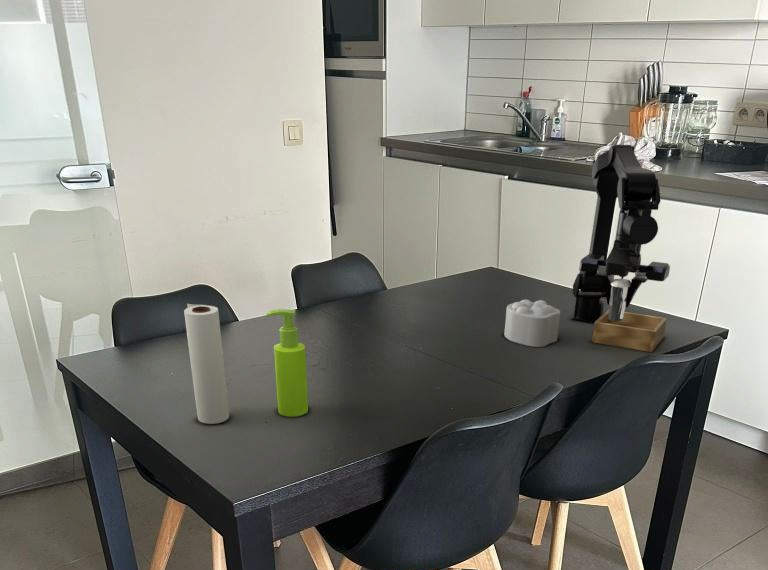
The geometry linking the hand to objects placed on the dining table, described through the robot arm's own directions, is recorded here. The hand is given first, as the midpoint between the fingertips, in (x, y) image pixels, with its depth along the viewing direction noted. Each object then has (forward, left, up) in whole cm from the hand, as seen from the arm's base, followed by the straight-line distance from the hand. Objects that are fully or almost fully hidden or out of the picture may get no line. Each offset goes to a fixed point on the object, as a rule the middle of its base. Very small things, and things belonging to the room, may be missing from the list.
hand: (617, 305), depth 176 cm
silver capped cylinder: (0, 0, -3) cm, 3 cm away
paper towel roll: (-57, -75, -12) cm, 95 cm away
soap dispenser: (-46, -65, -12) cm, 80 cm away
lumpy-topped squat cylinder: (-21, +2, -12) cm, 24 cm away
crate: (+1, +13, -12) cm, 18 cm away
